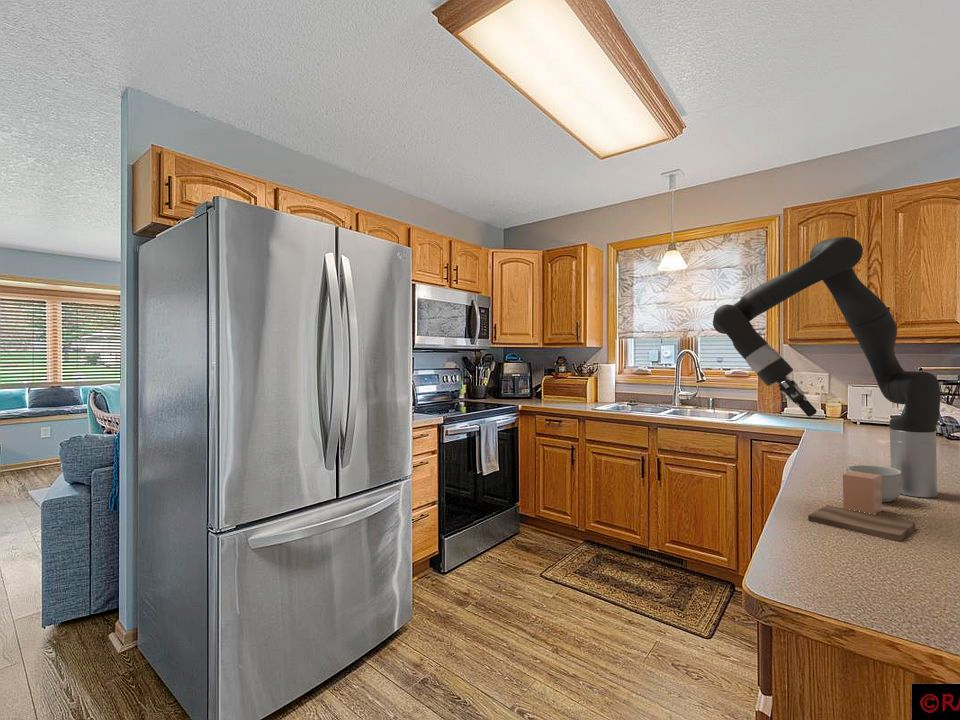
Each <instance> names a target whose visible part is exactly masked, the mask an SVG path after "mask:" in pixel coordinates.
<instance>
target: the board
mask: <svg viewBox="0 0 960 720" xmlns="http://www.w3.org/2000/svg"><path fill="white" fill-rule="evenodd" d="M807 518H808V519H807V520H808V521H810V522H815V523H817V522H818V524H822V523H823V524H822V525H826V526H831V527H836V528H839V529H843V528H845V530H848V529H850V530H849V531H852V530H854V531H853V532H856V531H858V532H857V533H861V532H862V534H865V533H866V535H869V534H870V536H874V537H878V536H879V538H883V539H888V540H891V541H898V542H901V541H902V540H903V539H904V538H906V537H907V536H908V535H909V534H910V532H911V531H912V532H913V531H914V530H915V529H916V522H914V521H908V520H903V519H898V518H894V517H889V516H883V515H878V514H875V515H874V514H869V513H864V512H859V511H854V510H849V509H844V508H843V507H838V506H834V505H829V504H828V505H826V506H824V507H821V508H819V509H818V510H816V511H814V512H812V513H810V514H808V516H807ZM912 532H911V533H912Z"/></svg>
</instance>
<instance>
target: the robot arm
mask: <svg viewBox="0 0 960 720" xmlns="http://www.w3.org/2000/svg"><path fill="white" fill-rule="evenodd" d="M863 253H864V251H863V246H862V244H861V243H860V242H859V240H857V239H856V238H853V237H849V236H840V237H839V236H838V237H833V238H829V239H828V238H827V239H825V240H821V241H819V242H817V243H816V244H814V246H813V247H812V248H811V250H810V253H809V259H808V260H807V261H805V262H804V263H802V264H800V265H798V266H797V267H794V268H792V269H791V270H789V271H786V272H784V273H782V274H779V275H777V276H775V277H773V278H771V279H768V280H767V281H765V282H763V283H760V284H759V285H758V286H757V287H754V288H753V289H752V290H749V291H748V292H746V293H745V294H744V295H743V296H742V297H741V298H740V300H738V301H737V302H735V303H733V304H723V305H721V306H718V308H716V310H715V311H714V314H713V317H712V319H713V320H712V326H713V328H714V331H716V332H717V333H718V334H723V335H727V337H728V338H729V339H730V341H731V342H732V346H733V348H734V349H735V350H736V351H737V352H738V354H739V355H740V356H741V357H742V358H743V359H744V360H745V361H746V363H747V364H748V367H750V368H751V370H752V371H753V372H754V373H755V374H756V376H758V377H759V379H761V381H762V382H763V383H764V384H765V385H766V386H767V387H770V386H772V385H774V384H776V383H777V384H778V387H779V388H778V389H779V391H780V392H781V393H782V394H783V395H785V396H786V397H787V399H789V400H790V401H792V403H793V404H794V405H796V406H798V407H799V408H800V409H801V410H802V412H803V413H804V414H806V416H807V417H809V418H810V417H812V416H814V415H816V414H817V412H818V411H817V409H816V408H815V406H814V405H812V404H811V402H810V401H809V400H808V397H807V396H805V394H804V392H803V390H802V389H801V388H800V387H799V385H798V383H797V382H796V381H795V380H794V379H793V380H790V379H789V378H788V377H787V376H789V375H790V374H791V373H792V372H793V371H794V368H793V367H792V366H791V365H790V364H789V363H788V361H786V360H785V359H784V357H782V355H781V354H779V352H778V351H777V350H776V349H775V348H773V347H772V345H770V344H769V343H768V342H767V341H766V340H765V339H764V337H762V336H761V335H760V334H759V333H758V331H756V329H755V328H754V326H753V324H752V323H751V321H753V320H754V319H756V317H758V316H760V315H761V314H764V313H765V312H768V311H769V310H771V309H772V308H775V307H776V306H777V305H779V304H781V303H783V302H784V301H786V300H788V299H789V298H791V297H792V296H795V295H796V294H799V292H802V291H803V290H805V289H807V288H809V287H811V286H812V285H815V284H817V283H819V282H821V281H823V283H824V284H825V286H826V287H827V289H828V290H829V292H830V294H831V295H832V297H833V299H834V301H835V303H836V305H837V307H838V308H839V310H840V312H841V314H842V316H843V318H844V319H845V322H846V324H847V325H848V327H849V329H850V331H851V333H852V334H853V336H854V338H855V339H856V341H857V343H858V344H859V346H860V348H861V350H862V352H863V353H864V356H865V357H866V360H867V362H868V363H869V366H870V367H871V368H870V369H871V370H872V372H873V375H874V378H875V380H876V383H877V385H878V387H879V391H880V392H881V394H882V396H883V397H884V398H885V399H886V400H887V401H889V402H890V403H893V404H898V405H905V408H904V413H902V414H901V415H899V416H895V417H893V418H892V417H891V418H890V419H889V444H890V445H889V449H890V450H889V451H890V452H889V453H890V456H889V457H890V468H894V469H897V470H899V471H901V494H900V495H903V496H909V497H910V496H911V497H915V498H916V497H918V498H937V497H938V462H937V461H938V459H937V458H938V456H937V425H938V422H939V419H940V412H941V411H940V410H941V409H940V408H941V386H940V382H939V380H938V378H937V377H936V376H935V375H934V374H932V373H931V372H927V371H912V370H911V371H906V370H905V369H904V368H903V367H902V366H901V365H900V362H899V361H898V360H899V359H898V358H897V356H896V353H895V347H896V341H897V336H898V335H897V334H898V327H897V324H896V321H895V319H894V317H893V315H892V314H891V312H890V310H889V309H888V307H887V305H886V304H885V303H884V301H883V300H881V299H880V297H879V296H877V295H876V293H874V292H873V291H872V290H871V289H870V288H868V287H867V286H866V285H865V284H864V283H863V282H862V281H861V280H860V279H859V276H857V274H856V272H855V269H854V267H855V266H856V265H858V264H859V262H860V261H861V260H862V257H863Z"/></svg>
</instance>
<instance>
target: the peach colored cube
mask: <svg viewBox="0 0 960 720" xmlns="http://www.w3.org/2000/svg"><path fill="white" fill-rule="evenodd" d="M842 501H843V503H842V504H843V505H842V508H844V509H850V510H855V511H860V512H865V513H870V514H875V515H877V514H878V513H880V512H881V511H883V502H882V481H881V475H877V474H870V473H863V472H856V471H849V472H847V471H846V472H844V473H843V474H842ZM880 510H881V511H880ZM879 511H880V512H879ZM877 512H878V513H877ZM876 513H877V514H876Z"/></svg>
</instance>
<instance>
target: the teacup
mask: <svg viewBox="0 0 960 720" xmlns="http://www.w3.org/2000/svg"><path fill="white" fill-rule="evenodd" d="M849 471H856V472H863V473H870V474H877V475H881V481H882V503H888V502H892V501H894V500H895V499H898V498H899V497H900V496H901V495H902V494H901V471H899V470H897V469H894V468H891V466H890V467H889V466H884V465H877V464H876V465H875V464H854V463H852V464H848V465H847V467H846V473H847V472H849Z"/></svg>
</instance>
